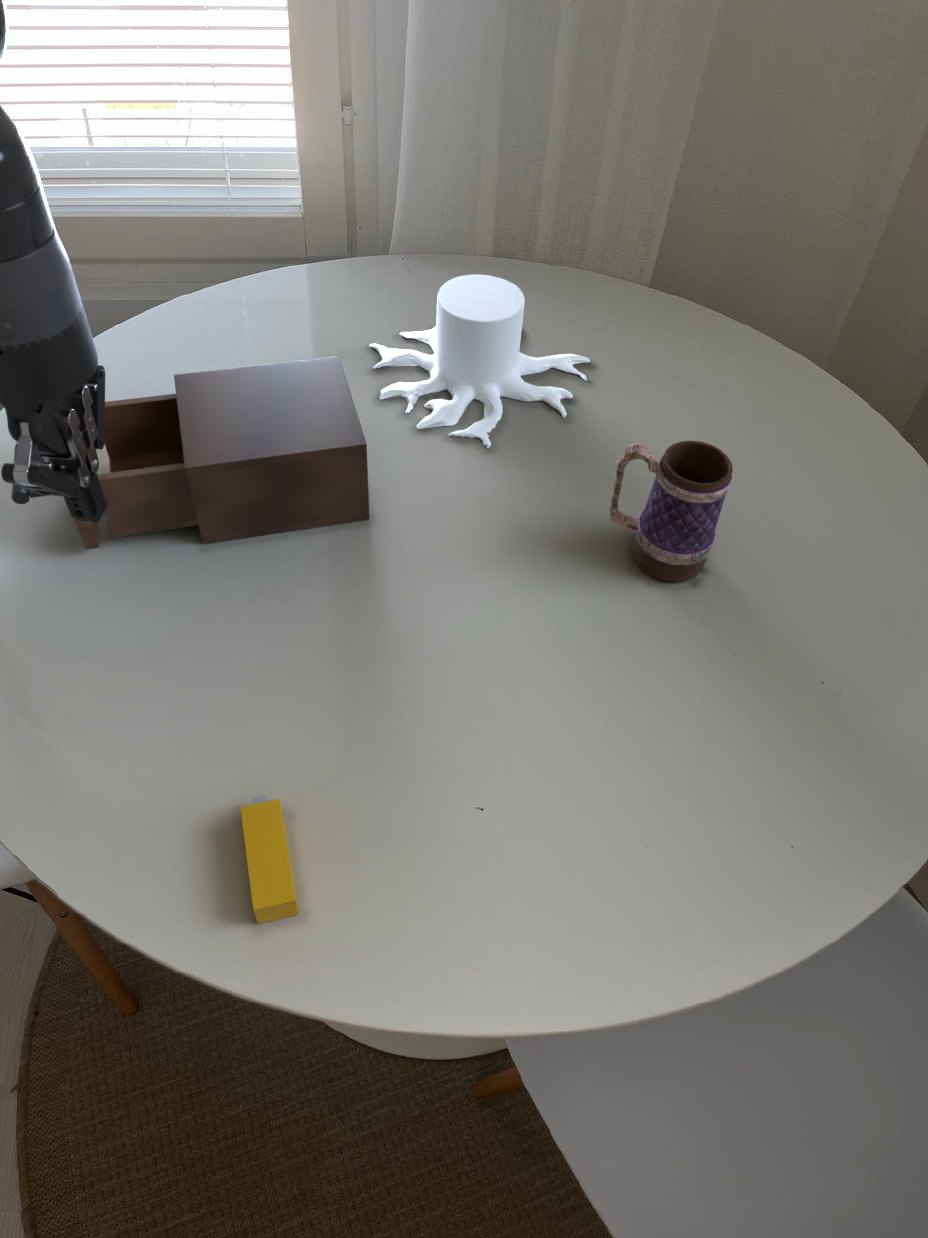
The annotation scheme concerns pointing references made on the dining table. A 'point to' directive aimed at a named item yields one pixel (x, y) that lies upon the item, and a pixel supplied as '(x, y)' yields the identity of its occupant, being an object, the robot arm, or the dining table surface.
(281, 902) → the box cutter
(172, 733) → the dining table surface
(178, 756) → the dining table surface
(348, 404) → the cabinet
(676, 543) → the mug
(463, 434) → the white tree stump
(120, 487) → the drawer
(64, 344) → the robot arm
